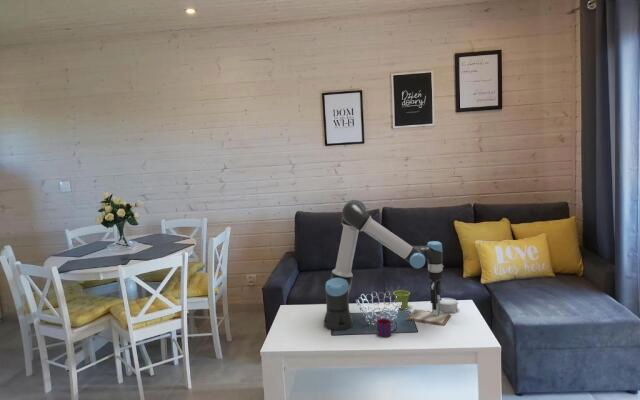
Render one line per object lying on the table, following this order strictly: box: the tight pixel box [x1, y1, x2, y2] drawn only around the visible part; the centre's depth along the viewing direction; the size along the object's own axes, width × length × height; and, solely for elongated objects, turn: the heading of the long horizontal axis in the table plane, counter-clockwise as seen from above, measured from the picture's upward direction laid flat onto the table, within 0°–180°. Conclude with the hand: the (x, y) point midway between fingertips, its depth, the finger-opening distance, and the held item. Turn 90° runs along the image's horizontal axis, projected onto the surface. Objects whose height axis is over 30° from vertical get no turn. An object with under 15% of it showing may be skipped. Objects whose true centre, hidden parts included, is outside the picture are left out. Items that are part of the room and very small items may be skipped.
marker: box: [437, 295, 441, 315], centre depth 236 cm, size 3×3×10 cm
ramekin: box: [440, 297, 459, 314], centre depth 244 cm, size 11×11×5 cm
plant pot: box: [392, 290, 411, 310], centre depth 251 cm, size 9×9×9 cm
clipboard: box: [405, 309, 452, 327], centre depth 234 cm, size 20×15×1 cm
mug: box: [376, 318, 398, 338], centre depth 216 cm, size 7×10×7 cm
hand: (436, 313), depth 236 cm, fingers closed on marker, 3 cm apart
